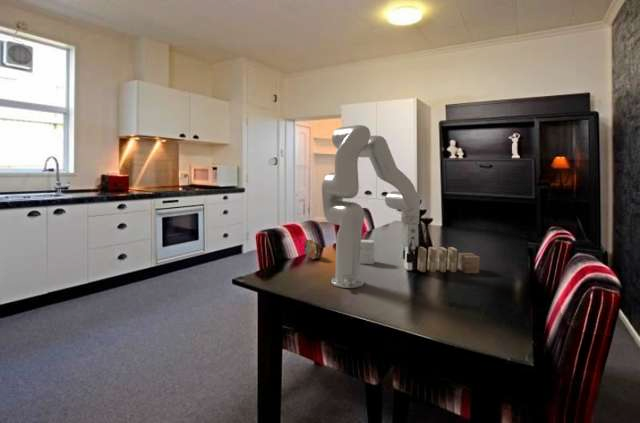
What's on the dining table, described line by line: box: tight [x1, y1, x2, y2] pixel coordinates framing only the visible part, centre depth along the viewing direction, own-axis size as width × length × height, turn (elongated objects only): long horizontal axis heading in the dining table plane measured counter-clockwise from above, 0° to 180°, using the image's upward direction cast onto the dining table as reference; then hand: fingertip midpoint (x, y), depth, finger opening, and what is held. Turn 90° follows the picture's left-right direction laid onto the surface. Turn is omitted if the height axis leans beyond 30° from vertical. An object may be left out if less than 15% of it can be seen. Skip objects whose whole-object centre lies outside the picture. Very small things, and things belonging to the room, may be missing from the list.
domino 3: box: [426, 246, 438, 273], centre depth 160 cm, size 2×5×10 cm, turn 2°
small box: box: [360, 239, 375, 265], centre depth 172 cm, size 8×6×10 cm
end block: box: [457, 252, 481, 274], centre depth 161 cm, size 8×6×7 cm
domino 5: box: [446, 246, 458, 273], centre depth 161 cm, size 2×5×10 cm, turn 2°
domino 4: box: [436, 246, 448, 273], centre depth 161 cm, size 2×5×10 cm, turn 2°
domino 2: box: [417, 246, 428, 273], centre depth 160 cm, size 2×5×10 cm, turn 2°
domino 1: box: [403, 245, 413, 271], centre depth 160 cm, size 2×5×10 cm, turn 2°
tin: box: [303, 239, 322, 260], centre depth 181 cm, size 15×3×8 cm, turn 25°
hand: (408, 260), depth 160 cm, fingers open, 5 cm apart
